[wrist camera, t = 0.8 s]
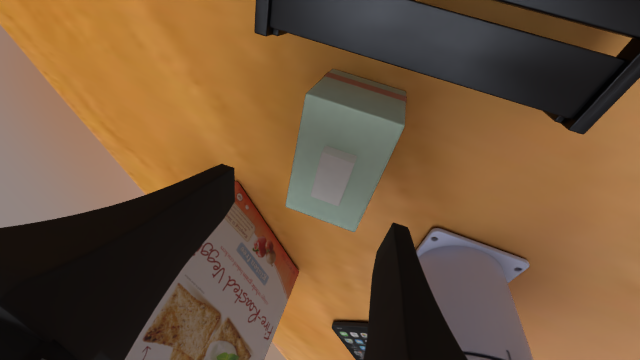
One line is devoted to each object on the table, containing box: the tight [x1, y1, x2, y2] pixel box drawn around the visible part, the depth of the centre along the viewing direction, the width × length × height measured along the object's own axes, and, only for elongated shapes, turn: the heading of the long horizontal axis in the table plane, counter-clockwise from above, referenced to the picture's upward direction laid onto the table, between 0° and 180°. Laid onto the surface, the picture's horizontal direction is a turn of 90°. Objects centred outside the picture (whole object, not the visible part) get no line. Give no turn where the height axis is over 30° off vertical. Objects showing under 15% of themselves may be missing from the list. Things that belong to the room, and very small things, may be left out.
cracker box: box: [125, 181, 299, 360], centre depth 21 cm, size 14×6×21 cm, turn 25°
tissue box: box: [286, 69, 407, 232], centre depth 16 cm, size 8×5×6 cm, turn 168°
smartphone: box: [332, 322, 368, 360], centre depth 37 cm, size 7×1×15 cm
